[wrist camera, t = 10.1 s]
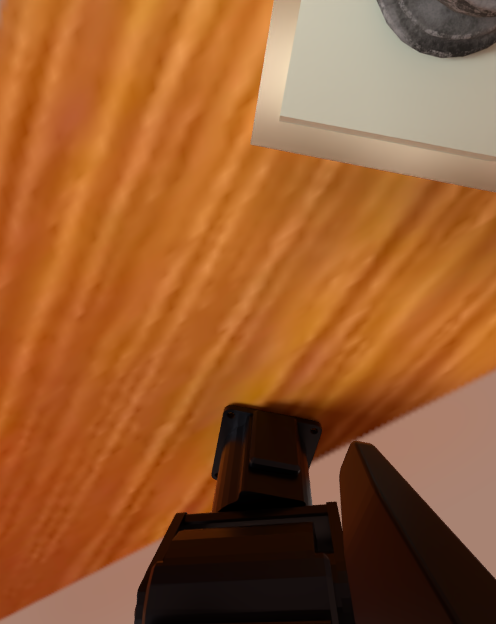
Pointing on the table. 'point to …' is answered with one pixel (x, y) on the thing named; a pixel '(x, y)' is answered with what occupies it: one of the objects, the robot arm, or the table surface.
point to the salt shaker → (442, 25)
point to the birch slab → (339, 144)
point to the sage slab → (387, 83)
